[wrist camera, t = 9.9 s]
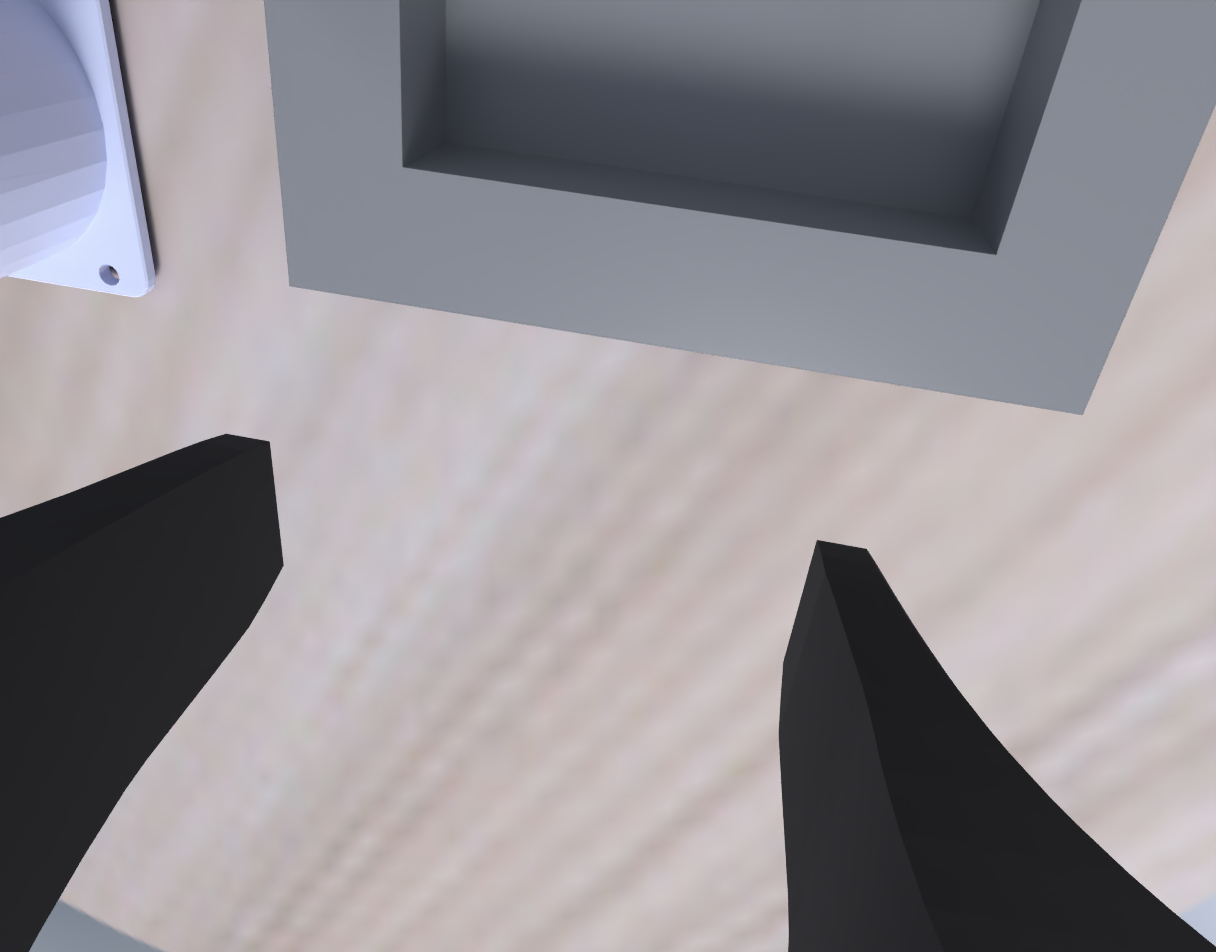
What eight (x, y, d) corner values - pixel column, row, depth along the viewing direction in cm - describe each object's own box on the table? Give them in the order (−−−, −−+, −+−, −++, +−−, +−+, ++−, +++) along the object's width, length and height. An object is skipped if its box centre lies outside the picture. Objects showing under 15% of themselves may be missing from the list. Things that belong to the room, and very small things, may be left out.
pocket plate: (349, 245, 21) (289, 286, 19) (312, -465, 15) (214, -550, 12) (1044, 353, 20) (1083, 414, 17) (1330, -383, 13) (1456, -459, 11)
